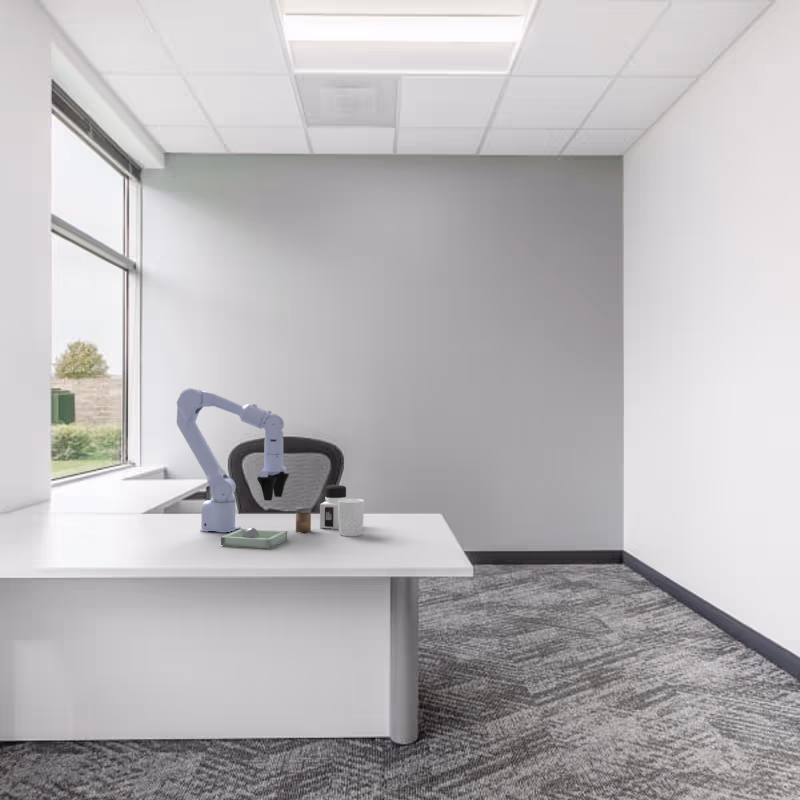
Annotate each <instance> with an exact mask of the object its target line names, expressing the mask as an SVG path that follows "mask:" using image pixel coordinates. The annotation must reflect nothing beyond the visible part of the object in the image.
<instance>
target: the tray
mask: <svg viewBox="0 0 800 800" xmlns="http://www.w3.org/2000/svg"><path fill="white" fill-rule="evenodd" d="M247 529H248V528H239V529H237V530H234V531H232V532H229V533H228V534H225V535H223V536H221V537H220V546H221V545H223V546H222V547H229V546H238V547H237V548H245V547H251V548H250V549H261V548H267V549H266V550H270V548H271V549H272V548H274V547H276V546H278V545H279V543H280V544H282V543H284V542H286V541H287V540H288V531H285V530H274V529H273V530H270V529H256V530H257V531H258V533H259V537H258V538H246V537H244V532H245V531H246V530H247ZM285 540H286V541H285ZM283 541H284V542H283ZM281 542H282V543H281ZM277 544H278V545H277ZM275 545H276V546H275Z"/></svg>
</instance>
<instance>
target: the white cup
mask: <svg viewBox="0 0 800 800" xmlns="http://www.w3.org/2000/svg"><path fill="white" fill-rule="evenodd" d="M364 511H365V500H364V499H362V498H346V499H340V500H338V524H339V529H338V535H339V534H340V535H339V536H341V535H343V536H342V537H358V535H359V536H361V535H363V526H364Z"/></svg>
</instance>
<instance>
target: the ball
mask: <svg viewBox="0 0 800 800" xmlns="http://www.w3.org/2000/svg"><path fill="white" fill-rule="evenodd" d="M246 529H247V530H246V531H245V532H244V537H246V538H258V537H259V533H258V531H257V530H258V529H257V528H254V527H248V528H246Z"/></svg>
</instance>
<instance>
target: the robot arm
mask: <svg viewBox="0 0 800 800" xmlns="http://www.w3.org/2000/svg"><path fill="white" fill-rule="evenodd" d="M176 405H177V406H176V407H177V408H176V410H177V411H176V425H177V428H178V429H179V431H180V433H181V434H182V436H183V438H184V439H185V441H186V443H187V445H188V446H189V449H190V450H191V451H192V453H193V456H194V457H195V459H196V460H197V461H198V464H199V466H200V467H201V469H202V471H203V473H204V474H205V476H206V481H207V483H208V486H209V488H210V489H209V491H210V492H209V493H210V495H211V498H210V499H209V500H208V499H207V500H205V501H204V502H203V504H202V506H201V528H200V530H199V531H200V532H208V531H217V532H216V533H226V532H229V533H232V532H235V531H237V530H240V529H242V527H241V525H239V526H238V525H236V497H235V496H234V495H233V494H234V493H235V492H236V488H237V486H236V485H237V484H236V482H235V480H234V479H233V478H231V477H230V476H229V475H228V474H227V472H226V471H225V469H223V467H222V466H221V465H220V462H219V461H218V460H217V457H216V456H215V455H214V452H213V450H212V449H211V447H210V445H209V444H208V442H207V441H206V439H205V436H204V435H203V433H202V431H201V430H200V428H199V426H198V424H197V423H196V421H197V419H198V416H199V413H200V412H201V410H202V409H203V408H204V407H206V408H209V407H215V408H217V409H220V410H224V411H226V412H229V413H232V414H234V415H237V416H239V418H240V421H241V422H243V423H245V424H248V425H250V426H253V427H256V428H258V429H260V430H261V429H264V433H265V434H264V437H265V438H264V442H263V446H264V447H263V448H264V449H263V450H264V451H263V452H264V453H263V454H264V455H263V456H264V457H263V468H262V469H261V470H260V471H259V472H260V476H257V477H256V478H257V482H258V484H259V485H260V489H261V492H262V496H263V500H264V501H270V502H271V501H273V495H274V497H275V498H276V497H277V498H282V497H283V493H284V489H285V485H286V483H287V480H288V478H289V476H290V473H287V466H285V465H284V432H283V429H284V426H285V421H284V419H283V418H282V416H280V415H278V414H276V413H274V414H273V413H272V410H265V409H263V408H260V407H258V404H256V403H252V404H251V403H247V404H246V405H241V404H239V403H237V402H234V401H232V400H230V399H228V398H225V397H223V396H221V395H219V394H216V393H214V392H208V391H203V390H201V389H198V388H191V387H190V388H189V387H188V388H186V389H183V390H182V391H181V393H180V394H179V397H178V398H177V401H176ZM236 529H237V530H236ZM231 531H232V532H231Z"/></svg>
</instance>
